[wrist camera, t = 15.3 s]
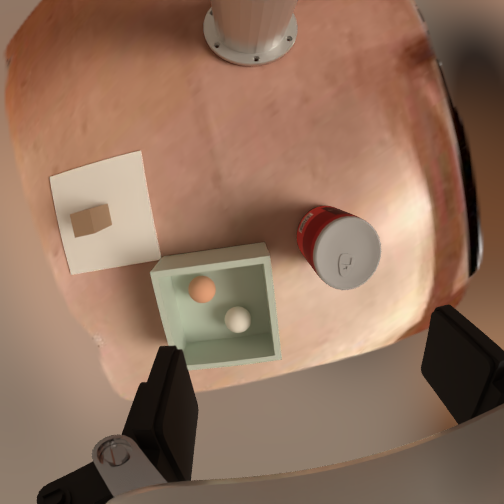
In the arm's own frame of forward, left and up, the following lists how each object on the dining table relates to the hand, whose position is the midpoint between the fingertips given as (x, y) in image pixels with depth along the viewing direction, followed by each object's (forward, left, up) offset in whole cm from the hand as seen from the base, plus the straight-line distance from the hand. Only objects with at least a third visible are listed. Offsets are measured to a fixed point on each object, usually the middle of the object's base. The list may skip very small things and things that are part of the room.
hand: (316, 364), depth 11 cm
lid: (-4, -21, -33) cm, 40 cm away
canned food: (+3, +8, -33) cm, 34 cm away
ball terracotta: (+7, -9, -30) cm, 32 cm away
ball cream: (+12, -5, -30) cm, 33 cm away
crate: (+10, -7, -32) cm, 35 cm away
